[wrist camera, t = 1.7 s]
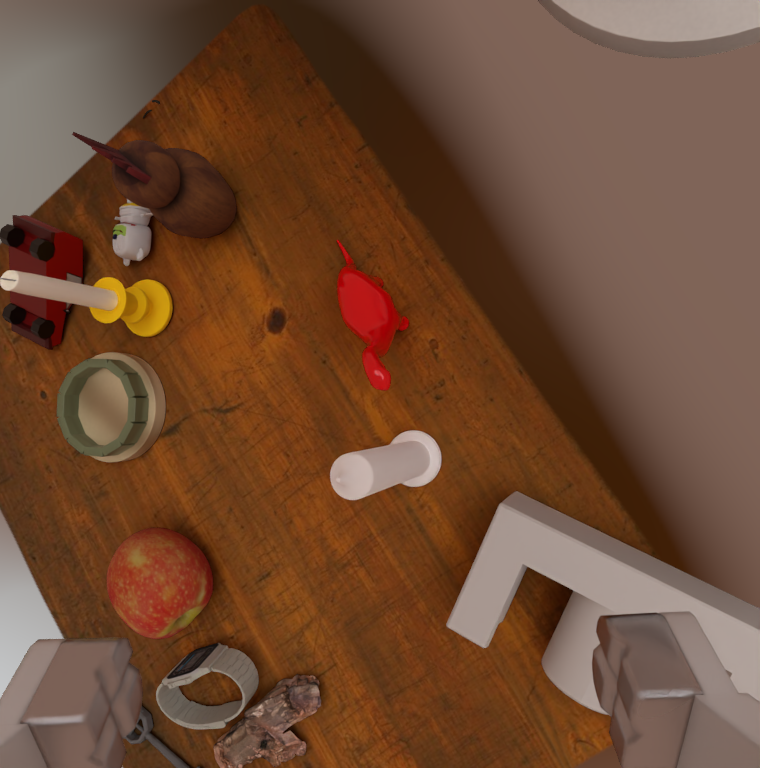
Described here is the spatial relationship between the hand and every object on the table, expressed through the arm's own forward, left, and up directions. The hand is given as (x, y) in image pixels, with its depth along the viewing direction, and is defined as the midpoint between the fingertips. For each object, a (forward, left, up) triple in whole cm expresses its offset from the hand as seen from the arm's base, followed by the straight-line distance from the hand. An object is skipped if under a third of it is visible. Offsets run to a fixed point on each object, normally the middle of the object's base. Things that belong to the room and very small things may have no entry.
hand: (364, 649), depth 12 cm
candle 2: (+6, -9, -39) cm, 41 cm away
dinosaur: (-2, -17, -39) cm, 43 cm away
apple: (+26, -21, -39) cm, 52 cm away
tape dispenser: (+7, +9, -39) cm, 41 cm away
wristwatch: (+32, -13, -39) cm, 52 cm away
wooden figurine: (-2, -36, -39) cm, 53 cm away
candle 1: (+9, -37, -39) cm, 55 cm away
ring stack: (+18, -35, -39) cm, 55 cm away
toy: (-8, -47, -37) cm, 60 cm away
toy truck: (+13, -47, -34) cm, 60 cm away
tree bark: (+32, -5, -37) cm, 49 cm away
